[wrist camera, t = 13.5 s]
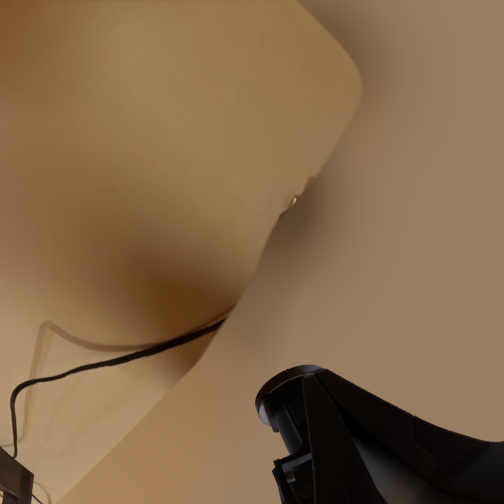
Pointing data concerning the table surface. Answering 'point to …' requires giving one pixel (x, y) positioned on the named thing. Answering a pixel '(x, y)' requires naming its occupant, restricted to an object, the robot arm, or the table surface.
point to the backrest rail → (14, 481)
